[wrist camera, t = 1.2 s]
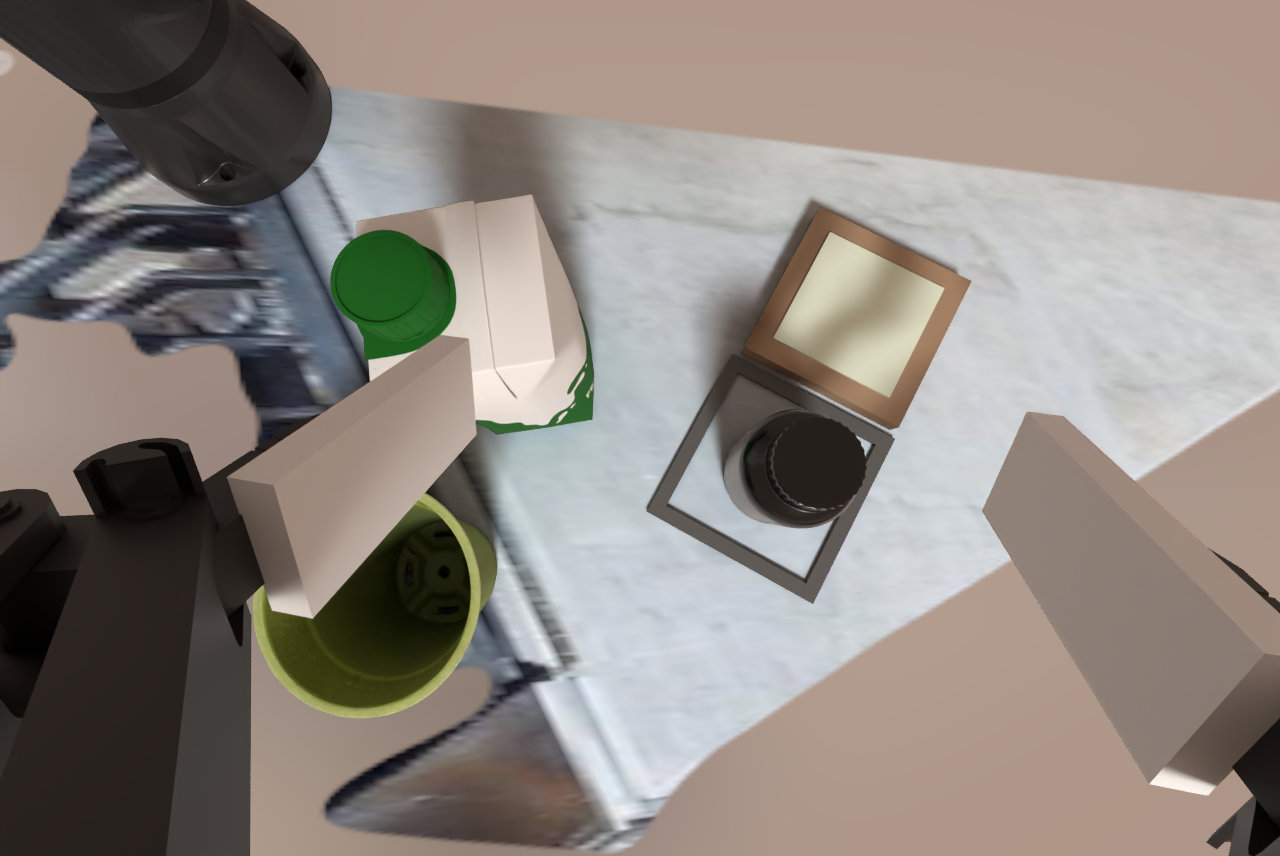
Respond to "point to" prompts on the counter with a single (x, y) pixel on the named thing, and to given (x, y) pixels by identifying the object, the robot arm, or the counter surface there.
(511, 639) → the counter surface
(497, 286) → the milk carton
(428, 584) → the plant pot
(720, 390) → the ring
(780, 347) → the walnut board
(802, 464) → the supplement bottle
